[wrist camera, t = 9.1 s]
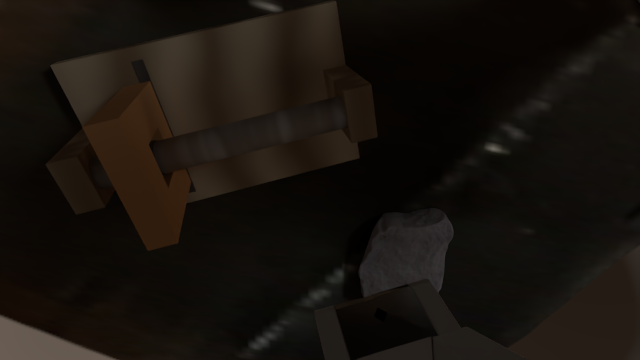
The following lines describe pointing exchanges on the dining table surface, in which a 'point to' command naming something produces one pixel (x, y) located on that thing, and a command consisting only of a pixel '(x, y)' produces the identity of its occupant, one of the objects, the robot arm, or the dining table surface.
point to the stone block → (405, 250)
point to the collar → (140, 163)
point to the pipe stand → (226, 104)
